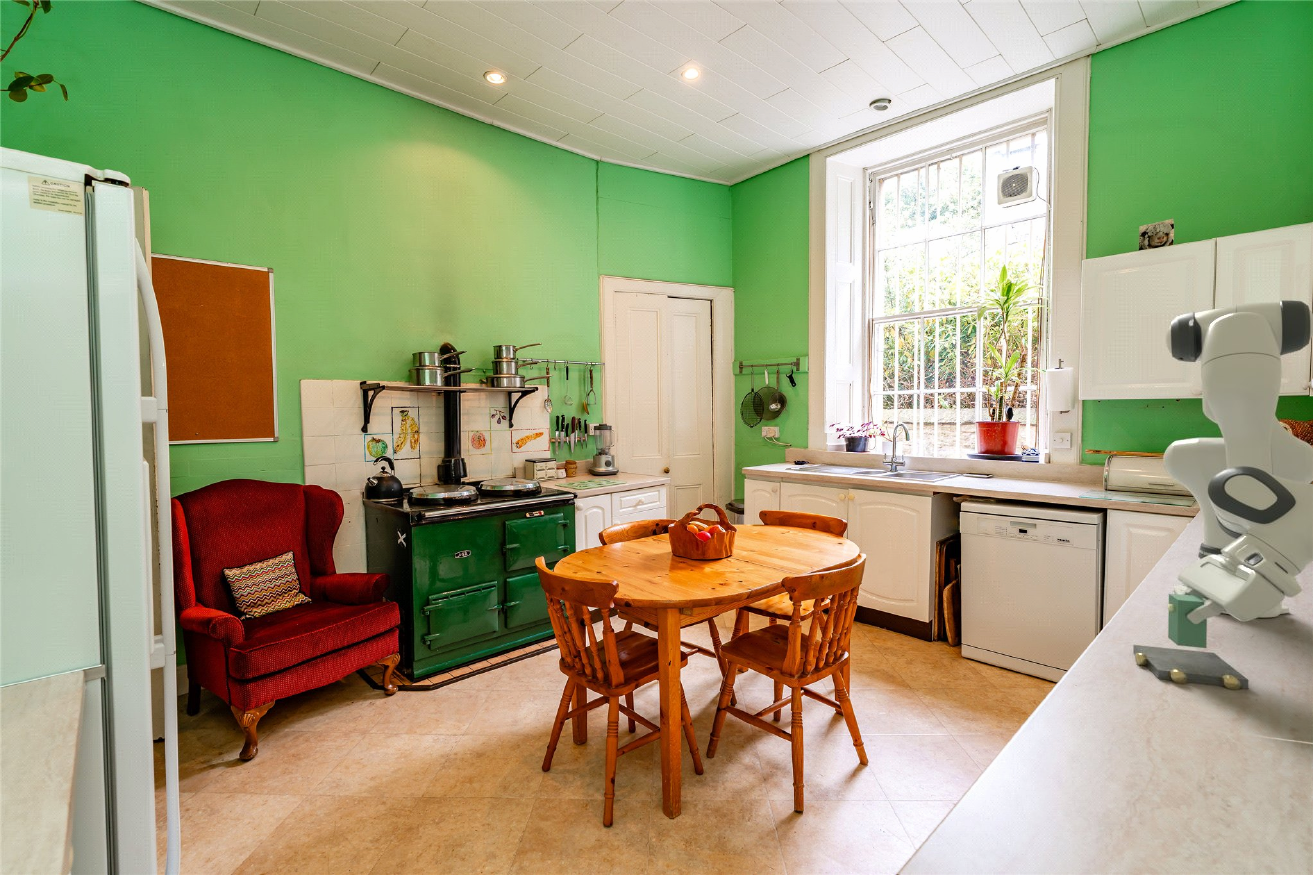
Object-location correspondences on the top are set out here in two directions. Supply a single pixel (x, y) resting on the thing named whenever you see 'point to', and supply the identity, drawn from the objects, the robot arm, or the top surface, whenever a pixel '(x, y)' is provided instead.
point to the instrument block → (1185, 621)
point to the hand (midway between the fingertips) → (1182, 615)
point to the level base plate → (1189, 666)
